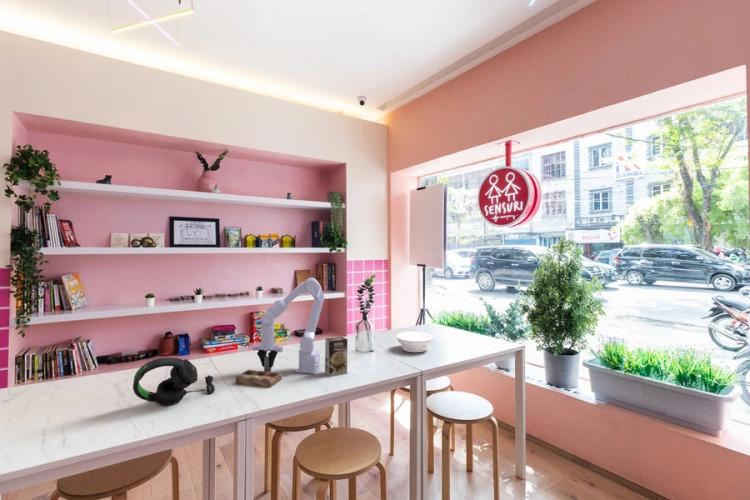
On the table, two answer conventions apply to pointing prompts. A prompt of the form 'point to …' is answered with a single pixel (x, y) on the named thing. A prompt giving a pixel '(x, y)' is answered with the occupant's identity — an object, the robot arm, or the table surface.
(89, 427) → the table surface
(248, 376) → the socket block
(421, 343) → the bowl
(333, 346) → the coffee box
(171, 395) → the headset
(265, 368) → the peg
